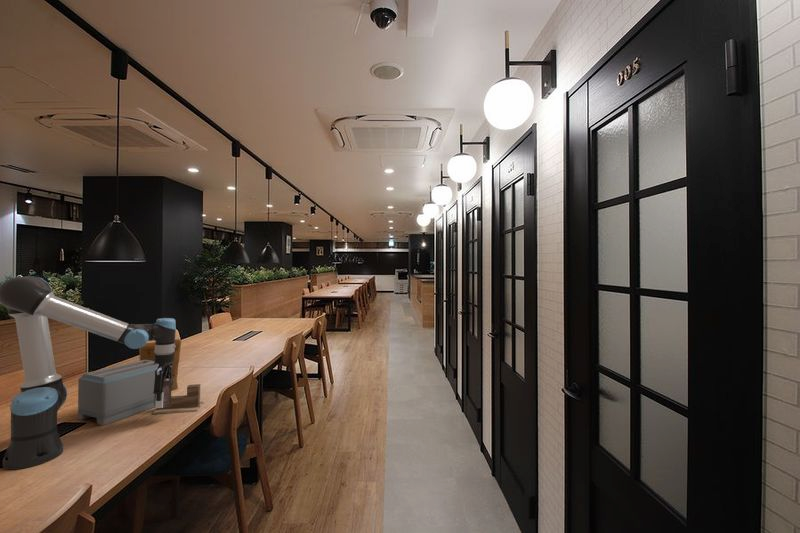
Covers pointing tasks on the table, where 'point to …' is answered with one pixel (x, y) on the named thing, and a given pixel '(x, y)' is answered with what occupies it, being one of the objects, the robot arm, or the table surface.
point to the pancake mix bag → (149, 354)
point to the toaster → (117, 391)
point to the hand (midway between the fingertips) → (162, 404)
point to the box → (166, 393)
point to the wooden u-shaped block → (183, 402)
